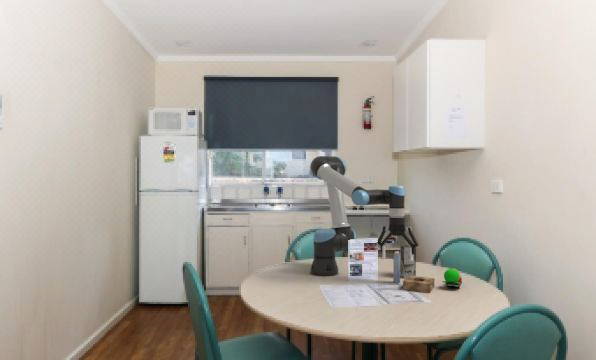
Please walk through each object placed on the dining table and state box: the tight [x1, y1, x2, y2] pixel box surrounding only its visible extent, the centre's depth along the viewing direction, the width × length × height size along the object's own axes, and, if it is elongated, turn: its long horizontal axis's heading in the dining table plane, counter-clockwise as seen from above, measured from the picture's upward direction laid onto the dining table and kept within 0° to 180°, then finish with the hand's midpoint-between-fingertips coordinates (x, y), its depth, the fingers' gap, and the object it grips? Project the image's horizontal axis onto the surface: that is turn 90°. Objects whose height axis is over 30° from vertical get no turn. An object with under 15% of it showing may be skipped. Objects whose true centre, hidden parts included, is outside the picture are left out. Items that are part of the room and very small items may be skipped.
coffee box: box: [399, 244, 417, 279], centre depth 221 cm, size 9×6×16 cm
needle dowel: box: [392, 250, 401, 284], centre depth 209 cm, size 3×3×15 cm
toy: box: [442, 267, 463, 289], centre depth 200 cm, size 8×8×15 cm
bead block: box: [402, 275, 435, 294], centre depth 198 cm, size 12×12×4 cm
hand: (397, 259), depth 208 cm, fingers open, 13 cm apart
